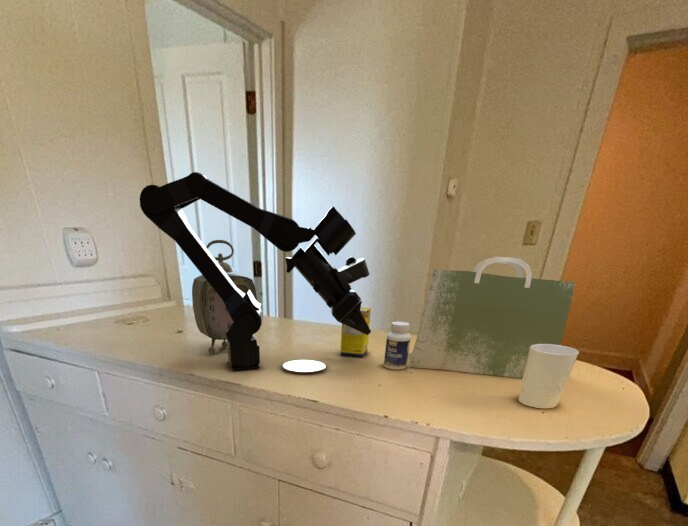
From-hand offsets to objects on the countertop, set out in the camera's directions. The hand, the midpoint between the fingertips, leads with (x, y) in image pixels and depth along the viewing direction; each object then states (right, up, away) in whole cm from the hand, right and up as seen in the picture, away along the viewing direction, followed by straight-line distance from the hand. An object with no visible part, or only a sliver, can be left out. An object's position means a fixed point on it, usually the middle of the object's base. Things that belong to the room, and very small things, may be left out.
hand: (366, 329), depth 96 cm
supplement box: (-1, -1, +15) cm, 15 cm away
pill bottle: (+8, -7, +5) cm, 12 cm away
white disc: (-14, -8, +3) cm, 16 cm away
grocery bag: (+28, -7, +6) cm, 29 cm away
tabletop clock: (-34, +1, +17) cm, 38 cm away
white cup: (+31, -20, -15) cm, 39 cm away
